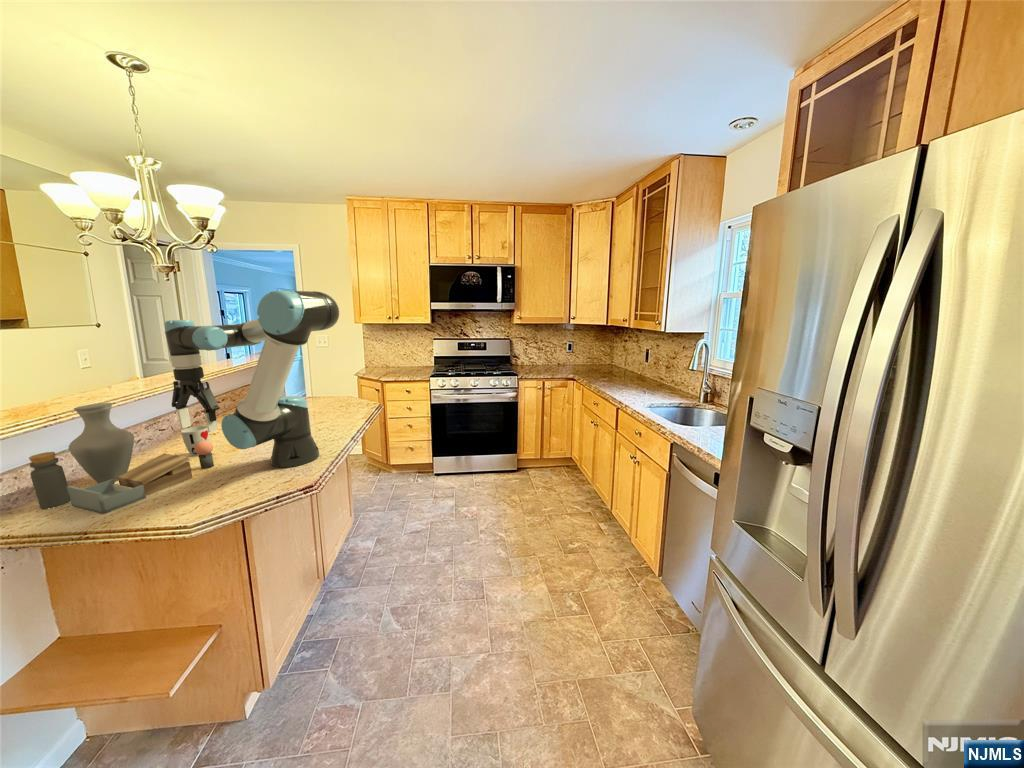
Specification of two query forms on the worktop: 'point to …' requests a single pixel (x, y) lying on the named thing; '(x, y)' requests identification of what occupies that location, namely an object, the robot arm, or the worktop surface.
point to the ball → (203, 447)
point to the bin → (104, 496)
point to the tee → (206, 461)
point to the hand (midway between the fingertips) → (199, 428)
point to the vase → (102, 444)
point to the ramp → (158, 473)
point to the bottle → (49, 480)
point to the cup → (194, 437)
